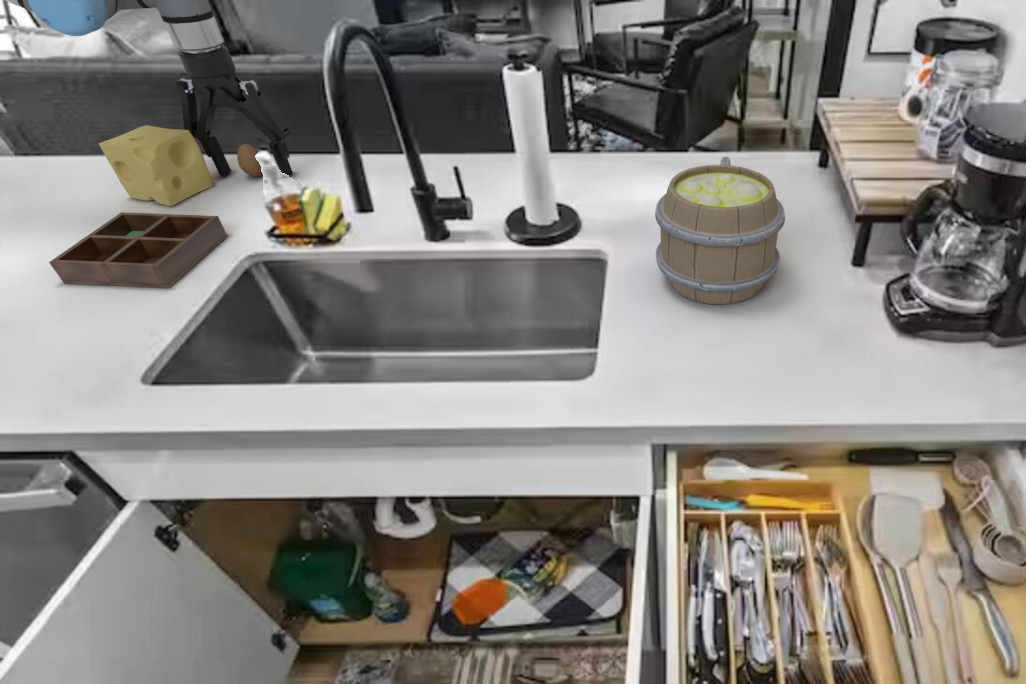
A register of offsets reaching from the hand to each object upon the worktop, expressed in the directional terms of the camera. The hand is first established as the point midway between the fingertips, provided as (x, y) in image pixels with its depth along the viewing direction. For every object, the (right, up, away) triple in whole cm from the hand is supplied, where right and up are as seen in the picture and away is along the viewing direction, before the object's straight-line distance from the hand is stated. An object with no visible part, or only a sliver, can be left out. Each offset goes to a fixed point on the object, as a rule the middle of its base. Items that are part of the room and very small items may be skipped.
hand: (257, 175), depth 128 cm
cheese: (-12, -5, -5) cm, 14 cm away
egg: (0, 0, 0) cm, 0 cm away
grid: (-3, -23, -22) cm, 32 cm away
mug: (+88, -25, -23) cm, 94 cm away
